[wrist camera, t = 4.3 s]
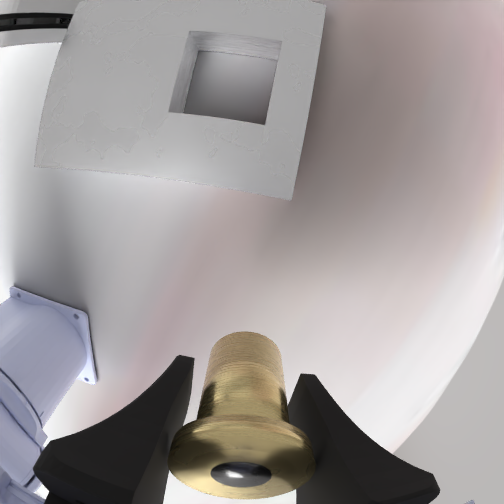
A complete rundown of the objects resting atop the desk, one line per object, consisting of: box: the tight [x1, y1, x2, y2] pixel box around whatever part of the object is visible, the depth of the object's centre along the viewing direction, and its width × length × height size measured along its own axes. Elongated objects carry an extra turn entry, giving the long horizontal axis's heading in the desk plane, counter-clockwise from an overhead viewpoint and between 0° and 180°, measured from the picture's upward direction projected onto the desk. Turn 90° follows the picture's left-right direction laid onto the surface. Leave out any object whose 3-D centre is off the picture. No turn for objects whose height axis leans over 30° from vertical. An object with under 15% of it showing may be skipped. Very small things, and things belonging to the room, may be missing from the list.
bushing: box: [167, 332, 316, 499], centre depth 9 cm, size 4×4×6 cm
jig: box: [34, 0, 326, 201], centre depth 13 cm, size 16×12×3 cm
